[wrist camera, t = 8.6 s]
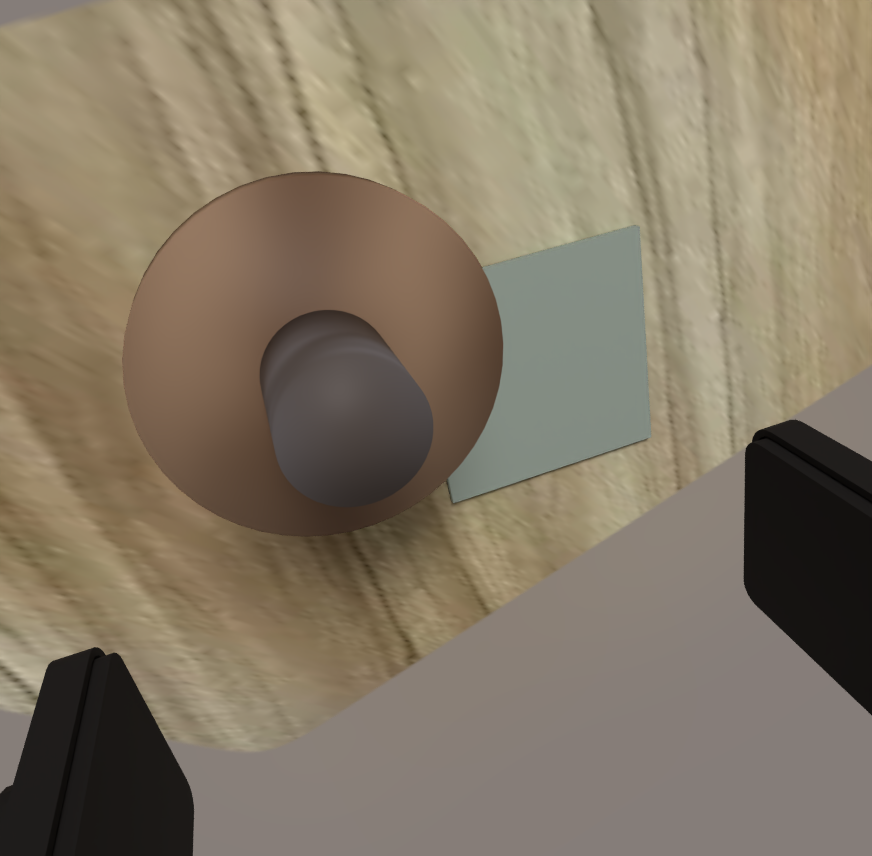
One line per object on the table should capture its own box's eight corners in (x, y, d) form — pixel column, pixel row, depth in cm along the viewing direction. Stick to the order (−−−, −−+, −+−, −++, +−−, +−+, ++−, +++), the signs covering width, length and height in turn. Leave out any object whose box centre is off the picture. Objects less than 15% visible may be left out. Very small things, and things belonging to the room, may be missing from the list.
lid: (456, 128, 19) (536, 140, 14) (513, 457, 23) (587, 541, 19) (56, 230, 17) (9, 278, 13) (205, 563, 22) (207, 682, 17)
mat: (635, 225, 34) (639, 226, 34) (647, 434, 40) (651, 437, 39) (405, 288, 32) (407, 290, 32) (450, 499, 38) (453, 503, 37)
